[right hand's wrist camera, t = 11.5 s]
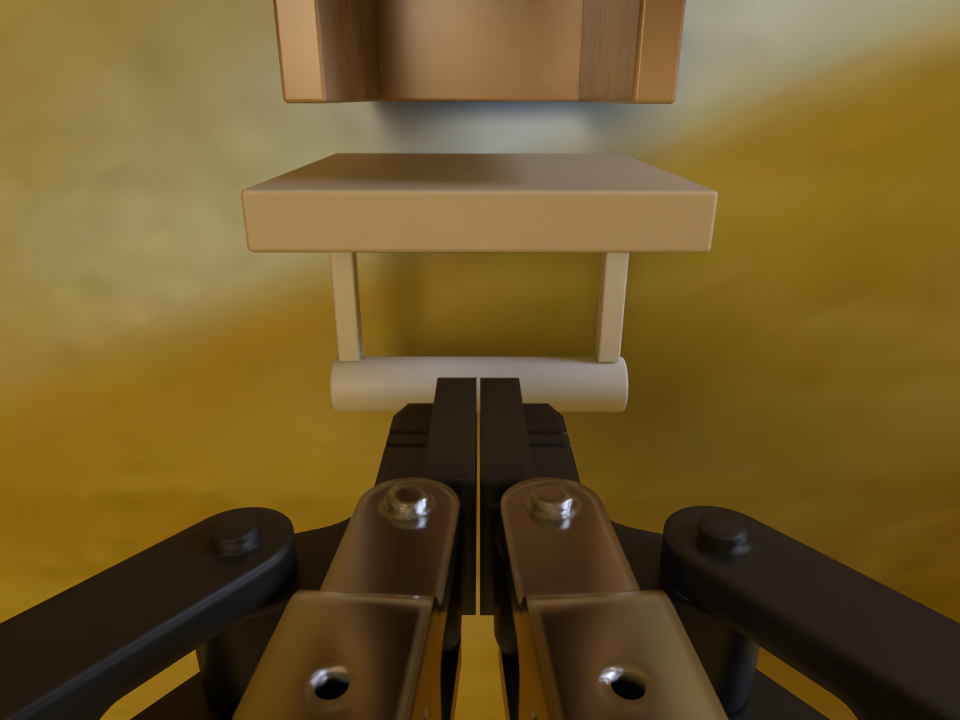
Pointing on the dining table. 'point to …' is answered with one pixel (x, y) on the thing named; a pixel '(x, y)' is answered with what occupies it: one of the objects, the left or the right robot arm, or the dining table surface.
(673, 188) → the drawer
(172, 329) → the dining table surface
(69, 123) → the dining table surface
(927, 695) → the right robot arm
